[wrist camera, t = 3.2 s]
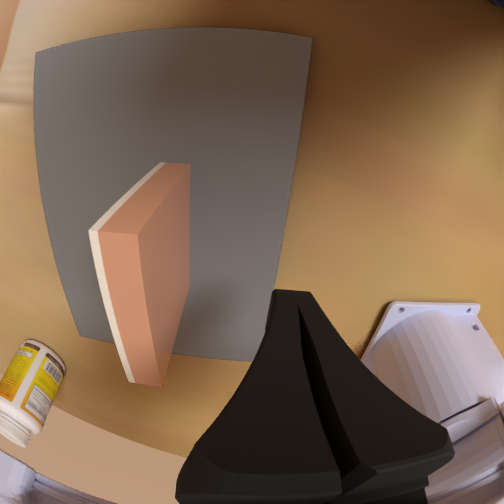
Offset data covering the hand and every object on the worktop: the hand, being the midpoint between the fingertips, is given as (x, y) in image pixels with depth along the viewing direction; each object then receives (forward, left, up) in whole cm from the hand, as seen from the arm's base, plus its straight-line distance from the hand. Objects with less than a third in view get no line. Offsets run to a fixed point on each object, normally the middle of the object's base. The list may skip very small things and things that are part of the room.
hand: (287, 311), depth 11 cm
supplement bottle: (+21, +16, -6) cm, 27 cm away
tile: (+5, 0, -5) cm, 8 cm away
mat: (+7, 0, -6) cm, 9 cm away
